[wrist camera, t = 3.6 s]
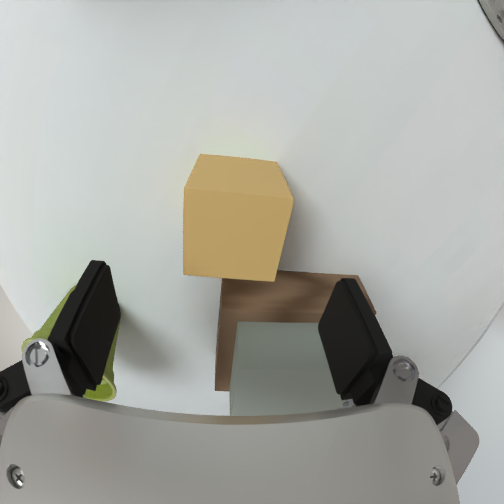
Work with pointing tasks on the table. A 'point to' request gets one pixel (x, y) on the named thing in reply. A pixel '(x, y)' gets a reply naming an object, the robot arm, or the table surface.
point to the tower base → (270, 308)
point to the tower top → (280, 370)
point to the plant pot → (107, 385)
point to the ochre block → (235, 218)
